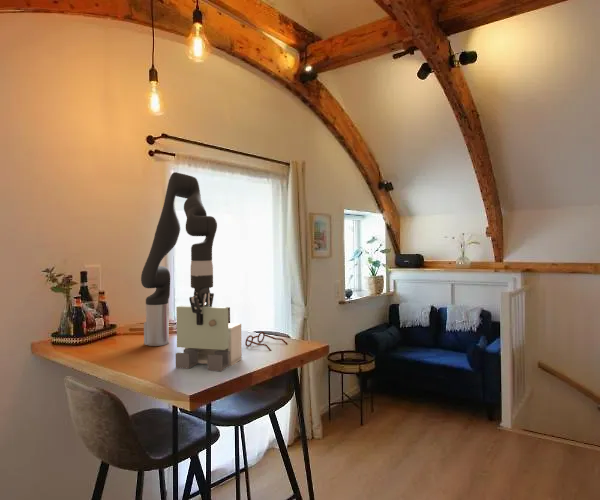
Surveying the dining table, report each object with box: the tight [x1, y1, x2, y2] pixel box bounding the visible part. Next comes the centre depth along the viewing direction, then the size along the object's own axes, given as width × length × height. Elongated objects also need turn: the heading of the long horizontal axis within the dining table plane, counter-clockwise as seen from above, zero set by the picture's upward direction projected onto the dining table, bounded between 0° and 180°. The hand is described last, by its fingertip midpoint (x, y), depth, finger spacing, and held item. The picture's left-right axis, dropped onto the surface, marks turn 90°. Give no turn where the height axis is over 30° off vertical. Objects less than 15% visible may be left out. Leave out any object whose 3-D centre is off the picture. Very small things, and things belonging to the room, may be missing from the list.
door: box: [175, 305, 229, 350], centre depth 147 cm, size 18×5×14 cm, turn 75°
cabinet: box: [175, 322, 243, 372], centre depth 152 cm, size 18×16×13 cm
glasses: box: [244, 331, 289, 352], centre depth 179 cm, size 13×13×5 cm
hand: (202, 323), depth 147 cm, fingers closed on door, 3 cm apart
